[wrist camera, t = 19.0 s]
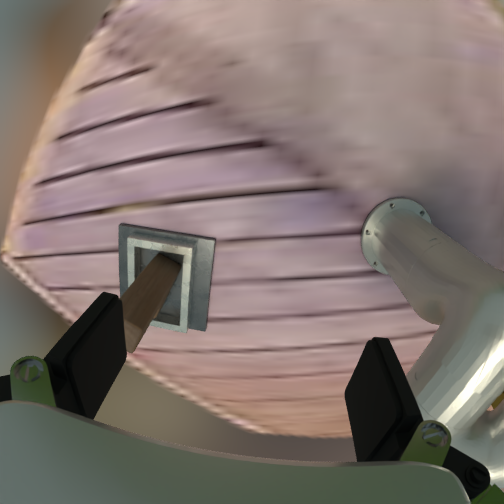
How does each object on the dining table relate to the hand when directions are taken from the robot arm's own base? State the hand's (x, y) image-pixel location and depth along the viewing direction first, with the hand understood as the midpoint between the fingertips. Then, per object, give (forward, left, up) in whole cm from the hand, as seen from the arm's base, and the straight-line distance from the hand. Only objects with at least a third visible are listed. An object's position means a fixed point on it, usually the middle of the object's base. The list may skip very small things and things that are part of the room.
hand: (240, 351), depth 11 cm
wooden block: (+14, +18, -36) cm, 42 cm away
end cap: (+14, +18, -36) cm, 43 cm away
